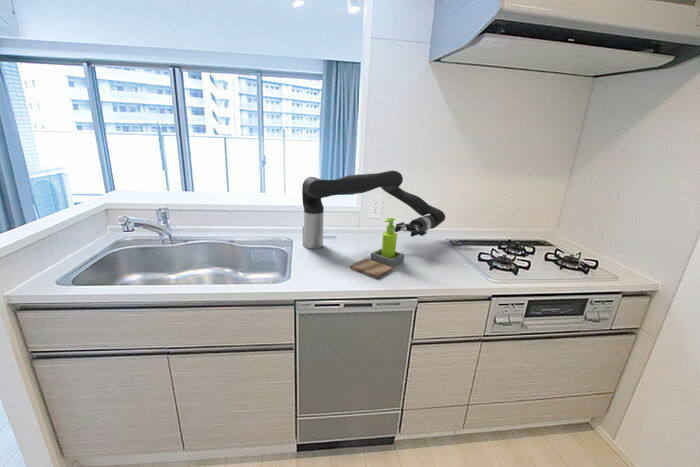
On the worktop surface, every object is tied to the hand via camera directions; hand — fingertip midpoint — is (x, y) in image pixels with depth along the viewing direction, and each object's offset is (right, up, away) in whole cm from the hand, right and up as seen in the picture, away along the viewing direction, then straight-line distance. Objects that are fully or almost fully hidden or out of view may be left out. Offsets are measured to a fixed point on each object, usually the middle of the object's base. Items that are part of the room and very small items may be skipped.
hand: (403, 232), depth 146 cm
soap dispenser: (-8, -13, -5) cm, 17 cm away
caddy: (-8, -13, -5) cm, 16 cm away
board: (-16, -16, -14) cm, 26 cm away
